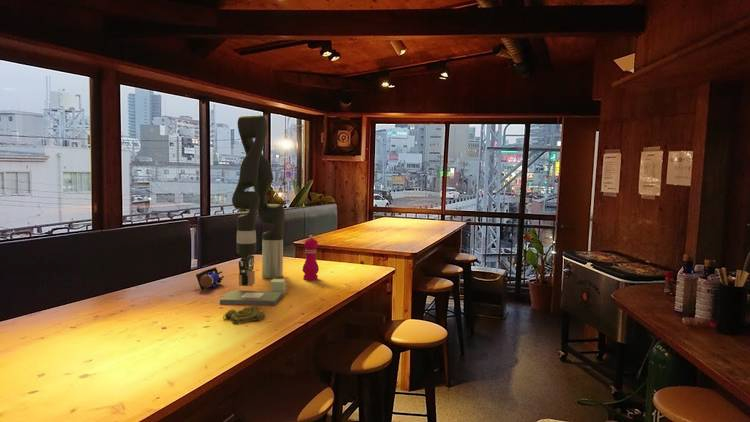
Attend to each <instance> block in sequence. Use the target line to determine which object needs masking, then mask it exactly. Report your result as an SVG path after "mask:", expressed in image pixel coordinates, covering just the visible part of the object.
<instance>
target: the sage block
mask: <svg viewBox="0 0 750 422" xmlns="http://www.w3.org/2000/svg"><path fill="white" fill-rule="evenodd" d="M286 282H287V281H286V278H283V279H282V278H272V279H271V280H270V284H269V285H270V287H269V288H270V290H269V291H276V292H283V295H284V294H285V293H286V290H287V289H286V287H287V285H286Z"/></svg>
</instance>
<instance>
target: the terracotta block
mask: <svg viewBox="0 0 750 422" xmlns="http://www.w3.org/2000/svg"><path fill="white" fill-rule="evenodd" d="M243 272H244V270H243ZM255 272H256V271H255V270H252V271H248V285H242V276H241V275H240V273H239V272H238V287H252V286H253V285H254V284H255V281H256V280H255V279H256V277H255Z"/></svg>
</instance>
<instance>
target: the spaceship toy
mask: <svg viewBox="0 0 750 422" xmlns="http://www.w3.org/2000/svg"><path fill="white" fill-rule="evenodd" d="M259 310H260V307H259V306H258V305H251V306H249V307H244V308H243V309H241V310H238V311H237V310H236V309H234V308H233V309H231V310H228V311H226V312H225V314H224V315H223V317H222V318H223V320H225V321H226V319H228V320H230V321H232V325H235V324H236V325H239V324H242V323H246V322H250V321H253V322H254V323H255V322H256V321H257V322H258V321H261V320H262V319H263V318H265V316H266V313H265V312H264V310H260V311H259Z"/></svg>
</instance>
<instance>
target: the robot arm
mask: <svg viewBox="0 0 750 422" xmlns="http://www.w3.org/2000/svg"><path fill="white" fill-rule="evenodd" d="M237 131H238V134H239V138H240V141H241V144H242V146H243V149H244V152H245V156H244V158H243V160H242V162H241V164H240V169H239V178H238V182H237V184H236V187H235V189H234V192H233V194H232V196H231V203H232V206H233V207H234V208H235V209H238V210H248V212H247V213H246V214H241V215H239V216H237V218H236V230H237V231H236V253H237V254H238V255H241V257H240V260H239V261H238V270H239V271H238V274H239V273H240V275H241V276H242V285H248V271H254V264H255V262H254V261H255V255H253V254H257V232H256V231H257V230H256V219H257V215H258V219H259V221H260V222H261V223H262V224H263V225H273V227H272V229H270V230H269V231H265V232H263V233H262V238H261V239H262V242H261V245H262V248H261V249H262V251H261V252H262V253H261V254H262V255H261V257H262V259H261V262H262V263H261V265H262V266H261V267H262V269H261V271H262V273H261V277H262V278H264V279H281V278H282V277H283V276H284V275H283V274H284V271H283V270H284V260H283V259H284V232H285V215H286V214H285V208H284V206H283V205H282V204H280V203H279V204H278V203H269V202H268V200H267V195H268V193H269V190H270V188H271V185H272V183H273V180H274V175H273V170H272V165H271V162H270V160H268V158H267V157H266V156H265V155H264V154H263V150H264V146H265V142H266V137H267V133H268V122H267V120H266V117H265V116H264V115H262V114H261V115H260V114H259V115H255V114H254V115H253V114H252V115H241V116H239V117H238V118H237ZM250 188H253V189H254V191H253V190H250V191H249V190H248V191H247V189H250ZM243 271H244V272H243Z"/></svg>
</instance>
